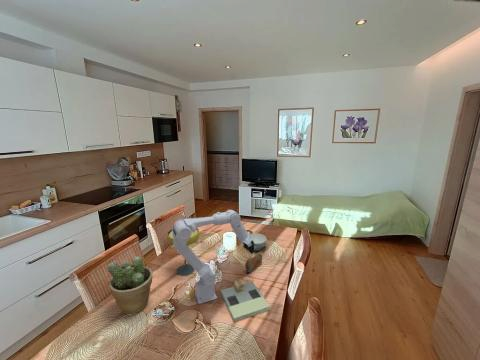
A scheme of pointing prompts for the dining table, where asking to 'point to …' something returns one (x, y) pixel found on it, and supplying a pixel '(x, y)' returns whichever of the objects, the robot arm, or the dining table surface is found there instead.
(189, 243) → the cocktail glass
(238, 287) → the beech block
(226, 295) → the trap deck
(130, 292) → the potted plant
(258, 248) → the chinaware
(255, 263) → the brown flat slab
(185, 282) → the dining table surface
